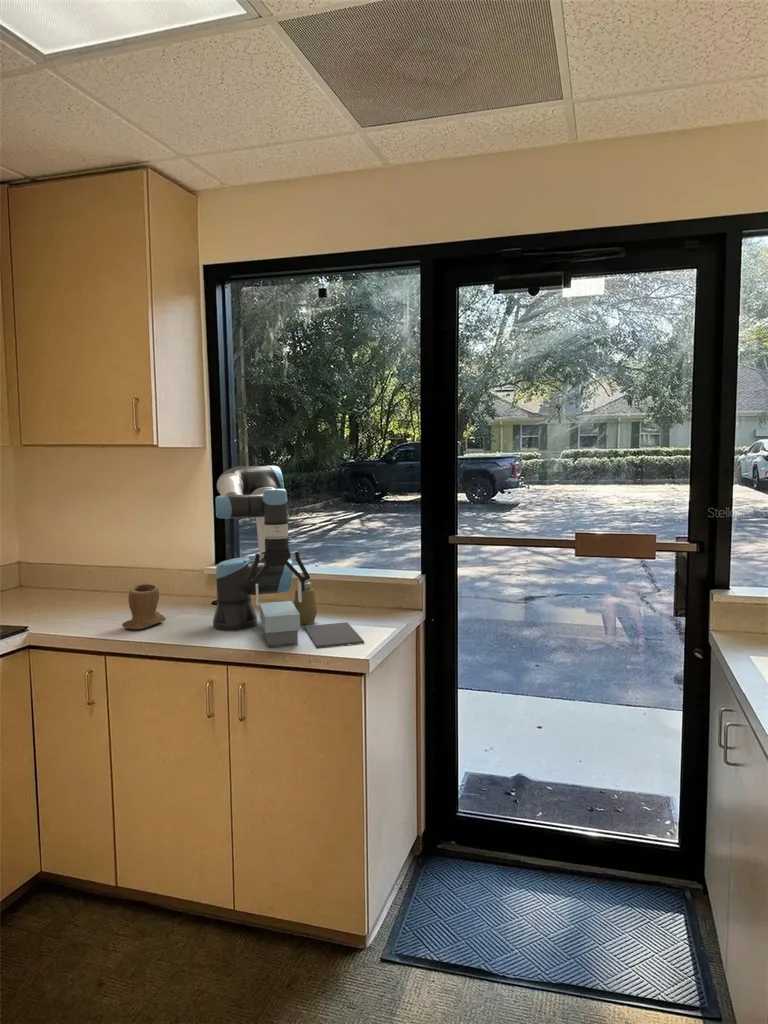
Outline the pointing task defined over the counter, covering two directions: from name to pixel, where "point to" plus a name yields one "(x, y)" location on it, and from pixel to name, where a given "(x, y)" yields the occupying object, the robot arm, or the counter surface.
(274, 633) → the storage box
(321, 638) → the mat
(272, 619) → the block
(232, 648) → the counter surface
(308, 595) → the squeeze bottle
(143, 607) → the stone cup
